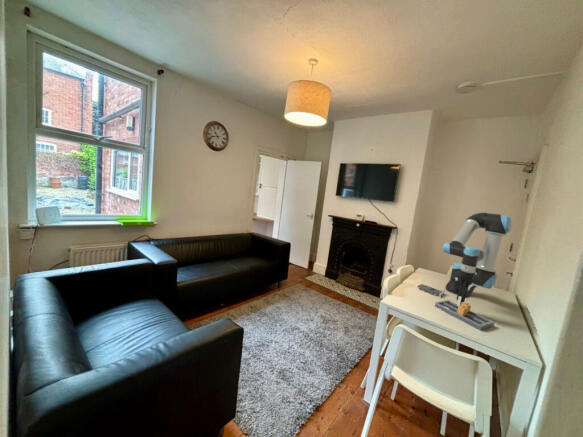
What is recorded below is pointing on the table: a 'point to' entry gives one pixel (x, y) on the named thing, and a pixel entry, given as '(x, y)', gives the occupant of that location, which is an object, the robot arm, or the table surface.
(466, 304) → the tab
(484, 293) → the table surface
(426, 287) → the graphics card
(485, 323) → the switch bank
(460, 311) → the tab
